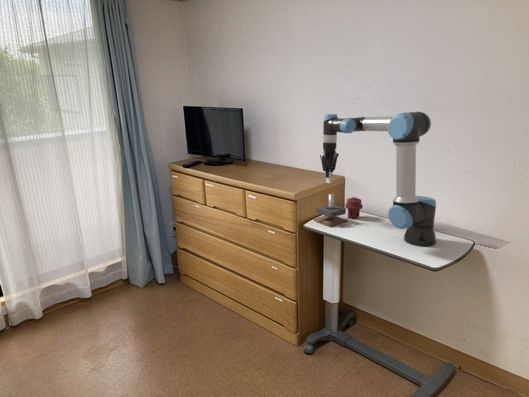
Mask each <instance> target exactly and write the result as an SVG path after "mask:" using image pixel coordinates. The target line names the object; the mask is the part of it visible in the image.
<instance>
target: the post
mask: <svg viewBox="0 0 529 397" xmlns="http://www.w3.org/2000/svg"><path fill="white" fill-rule="evenodd" d="M327 205H328V209H329V210H333V209H334V205H335V194H334V193H328V204H327ZM328 220H333V217H331V218H330V217H328Z"/></svg>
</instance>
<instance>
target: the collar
mask: <svg viewBox="0 0 529 397" xmlns="http://www.w3.org/2000/svg"><path fill="white" fill-rule="evenodd" d="M346 211H347V208H346V207H345V208H344V207H341V206H338V205H336V204H334V209H333V210H329V209H328V204H326V205H321V206H316V209H315V213H316V214H319V215H322V216H327V217H330V218H331V217H335V216H338V217H340V216H342V215H345V214H346Z"/></svg>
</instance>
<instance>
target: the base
mask: <svg viewBox="0 0 529 397" xmlns="http://www.w3.org/2000/svg"><path fill="white" fill-rule="evenodd" d="M313 222H315V223H318V224H321V225H323V226H326V227H329V228H333V227H336V226H341V225H344V224H347V223H348V222H349V220H348V219H347V218H343V217H341V216H335V217H333V220H328V217H327V216H324V215H322V216H318V217H314V218H313Z"/></svg>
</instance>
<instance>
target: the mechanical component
mask: <svg viewBox="0 0 529 397" xmlns="http://www.w3.org/2000/svg"><path fill="white" fill-rule="evenodd" d="M344 206H345V209H346V210H347V219H353V220H358V217H360V212H361V211H360V210H362V209H363V204H362V199H360V198H358V197H355V196H352V197H351V198H350V197H349V198H347V199H346V203H345V205H344Z"/></svg>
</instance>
